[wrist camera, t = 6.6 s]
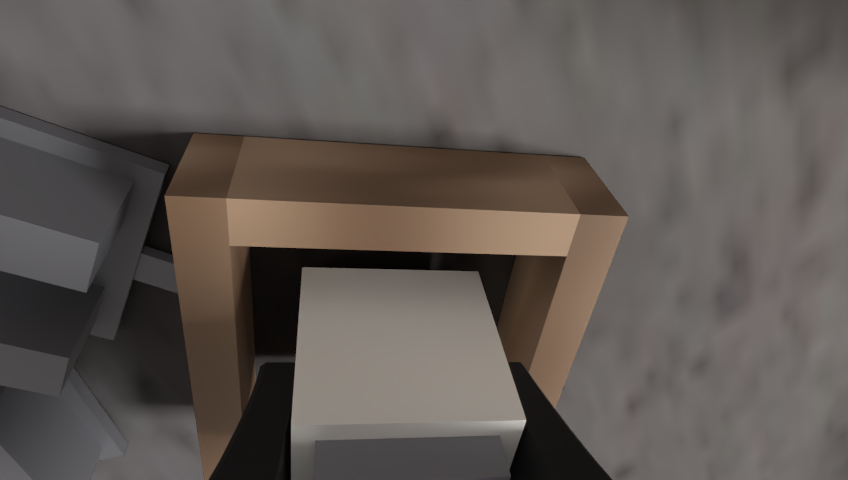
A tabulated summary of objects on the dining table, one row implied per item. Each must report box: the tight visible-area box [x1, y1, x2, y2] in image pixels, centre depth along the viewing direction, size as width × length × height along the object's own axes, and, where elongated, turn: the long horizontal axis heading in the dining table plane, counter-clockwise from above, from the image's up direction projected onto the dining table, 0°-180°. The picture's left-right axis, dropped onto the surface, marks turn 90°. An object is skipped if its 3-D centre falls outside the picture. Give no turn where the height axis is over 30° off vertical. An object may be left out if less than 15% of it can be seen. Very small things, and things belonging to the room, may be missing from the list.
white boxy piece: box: [291, 267, 526, 480], centre depth 12 cm, size 4×4×5 cm
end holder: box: [165, 133, 629, 480], centre depth 14 cm, size 8×8×2 cm
